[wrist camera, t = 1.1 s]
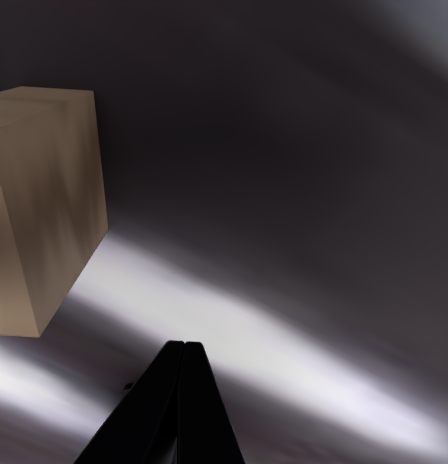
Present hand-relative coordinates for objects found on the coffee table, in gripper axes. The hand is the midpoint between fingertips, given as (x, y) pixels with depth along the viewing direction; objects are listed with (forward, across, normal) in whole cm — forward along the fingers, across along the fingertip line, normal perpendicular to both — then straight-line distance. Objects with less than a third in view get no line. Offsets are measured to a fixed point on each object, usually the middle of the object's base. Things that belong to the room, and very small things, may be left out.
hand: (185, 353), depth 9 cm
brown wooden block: (+13, +8, 0) cm, 15 cm away
